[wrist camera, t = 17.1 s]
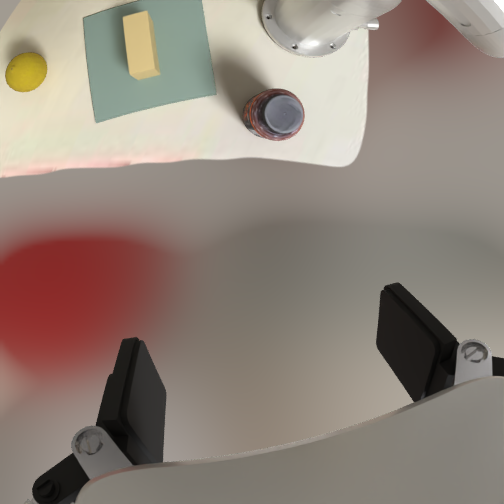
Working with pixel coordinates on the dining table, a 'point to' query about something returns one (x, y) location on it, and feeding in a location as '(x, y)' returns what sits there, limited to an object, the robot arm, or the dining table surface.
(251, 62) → the dining table surface
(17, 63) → the lemon
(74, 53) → the dining table surface
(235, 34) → the dining table surface
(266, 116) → the supplement bottle
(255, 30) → the dining table surface
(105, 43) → the lid
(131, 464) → the robot arm
